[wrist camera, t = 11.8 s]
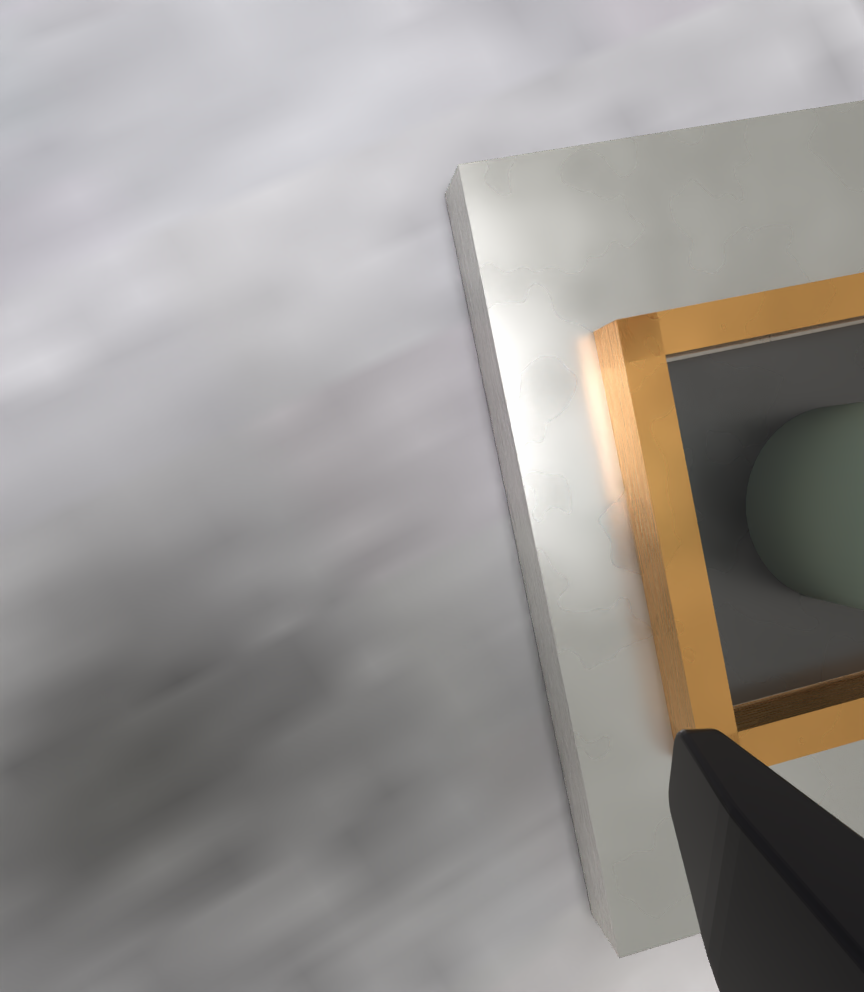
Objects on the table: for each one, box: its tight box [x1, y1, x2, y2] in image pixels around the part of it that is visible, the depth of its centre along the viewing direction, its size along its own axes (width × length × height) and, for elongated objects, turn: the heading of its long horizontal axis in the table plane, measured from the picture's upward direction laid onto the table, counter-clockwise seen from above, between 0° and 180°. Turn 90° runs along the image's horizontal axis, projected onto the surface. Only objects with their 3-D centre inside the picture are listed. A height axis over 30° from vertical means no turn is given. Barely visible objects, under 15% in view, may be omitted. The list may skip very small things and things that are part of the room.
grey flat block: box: [445, 100, 864, 958], centre depth 21 cm, size 20×16×4 cm
